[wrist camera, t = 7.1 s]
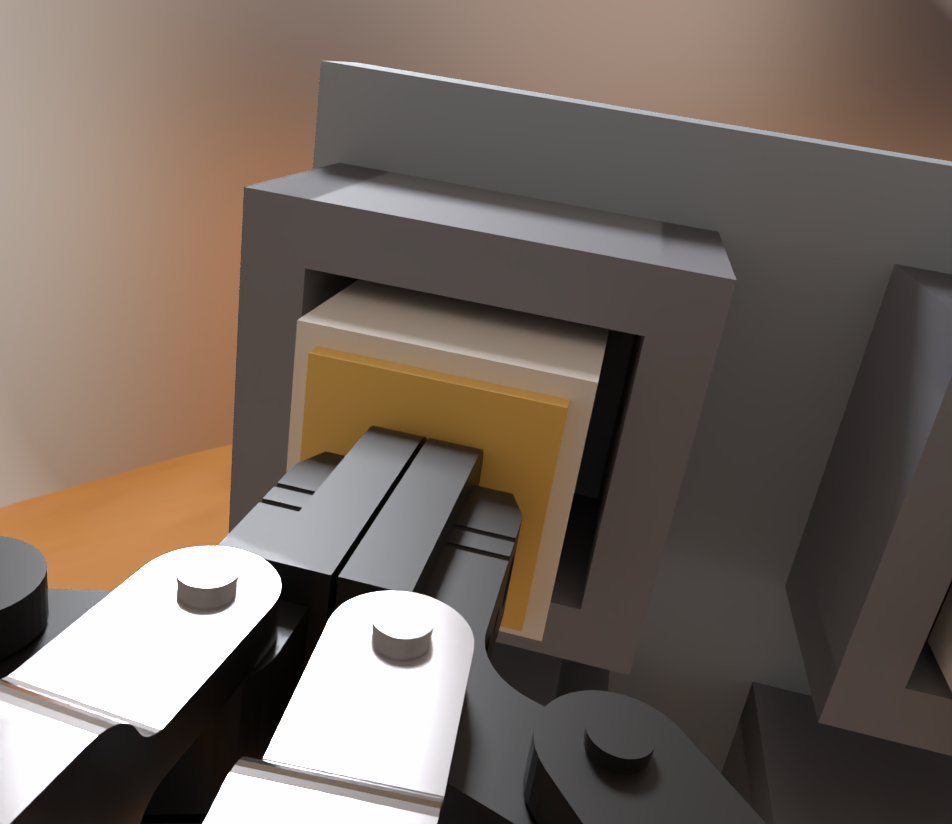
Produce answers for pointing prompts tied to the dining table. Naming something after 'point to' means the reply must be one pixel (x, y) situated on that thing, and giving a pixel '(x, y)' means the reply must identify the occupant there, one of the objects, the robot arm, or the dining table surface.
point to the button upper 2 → (943, 639)
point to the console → (675, 405)
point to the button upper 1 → (458, 403)
